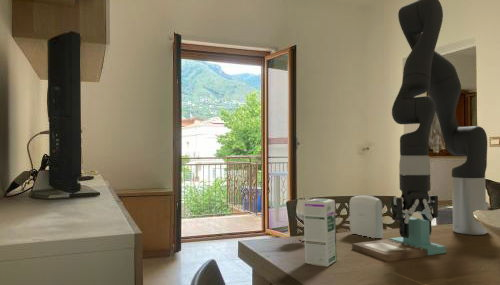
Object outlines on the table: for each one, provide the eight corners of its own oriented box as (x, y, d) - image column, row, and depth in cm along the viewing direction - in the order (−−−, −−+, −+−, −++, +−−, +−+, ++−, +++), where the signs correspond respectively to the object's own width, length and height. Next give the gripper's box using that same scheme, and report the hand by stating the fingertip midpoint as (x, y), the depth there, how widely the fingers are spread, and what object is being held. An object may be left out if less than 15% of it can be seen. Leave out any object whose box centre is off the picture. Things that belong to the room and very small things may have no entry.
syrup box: (328, 267, 87) (327, 201, 88) (303, 263, 90) (303, 200, 91) (337, 261, 92) (336, 199, 92) (313, 257, 95) (312, 197, 96)
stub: (406, 242, 110) (405, 214, 110) (445, 252, 98) (445, 222, 98) (389, 244, 108) (389, 216, 108) (427, 255, 96) (427, 224, 96)
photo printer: (347, 234, 121) (347, 194, 122) (356, 232, 124) (355, 193, 124) (377, 240, 113) (376, 197, 114) (385, 238, 116) (384, 196, 116)
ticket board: (388, 245, 107) (388, 238, 107) (426, 256, 95) (426, 249, 95) (352, 249, 103) (352, 242, 103) (387, 262, 91) (387, 254, 91)
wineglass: (294, 241, 112) (293, 199, 113) (299, 237, 118) (299, 197, 118) (314, 243, 110) (313, 200, 111) (318, 239, 116) (318, 198, 116)
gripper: (423, 171, 110) (424, 231, 109) (383, 173, 104) (384, 235, 103) (446, 172, 103) (447, 236, 102) (404, 174, 97) (405, 241, 97)
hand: (415, 235), depth 103 cm, fingers open, 7 cm apart
